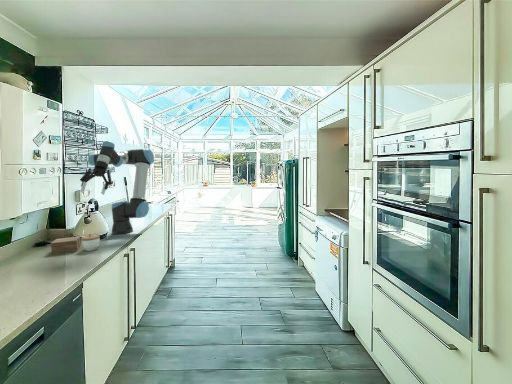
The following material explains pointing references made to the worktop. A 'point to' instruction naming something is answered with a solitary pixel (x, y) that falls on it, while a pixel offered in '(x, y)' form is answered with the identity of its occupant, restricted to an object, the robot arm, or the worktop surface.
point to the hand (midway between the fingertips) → (92, 192)
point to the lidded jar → (90, 242)
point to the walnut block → (66, 245)
